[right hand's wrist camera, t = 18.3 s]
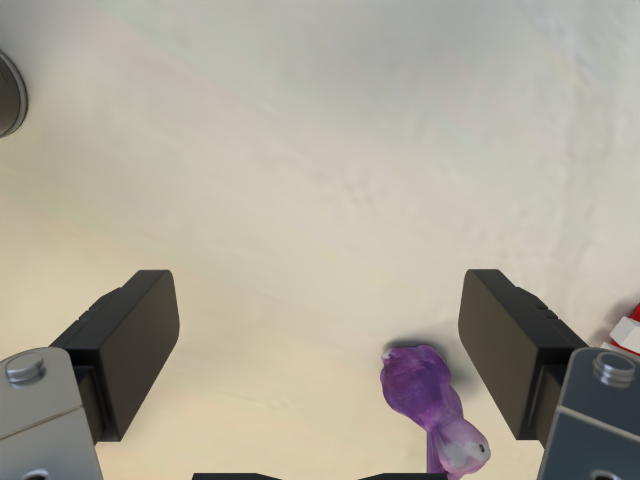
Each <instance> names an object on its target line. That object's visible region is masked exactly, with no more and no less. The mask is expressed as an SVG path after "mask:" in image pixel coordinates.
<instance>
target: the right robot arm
mask: <svg viewBox="0 0 640 480" xmlns="http://www.w3.org/2000/svg"><path fill="white" fill-rule="evenodd" d="M26 107H27V97H26V91H25V87H24V84H23V81H22V79H21V76H20V74H19V73H18V71H17V69H16V68H15V66H14V65H13V63H12V62H11V61H10V60H9V59H8V57H7V56H6V55H5V54H4V53H2V52H1V51H0V138H2V137H5V136H8V135H9V134H11V133H13V132H14V131H15V130H16V129H17V128H18V127H19V126H20V124H21V123H22V121H23V119H24V116H25V113H26ZM179 328H180V322H179V314H178V307H177V300H176V293H175V287H174V280H173V276H172V273H171V272H170V271H169V270H139V271H138V272H137V273H136V274H135V275H134V276H133V277H132V278H131V279H130V280H129V281H128V282H127V283H126V284H125V285H124V286H123V287H121V288H117V289H115V290H113V291H111V292H109V293H107V294H106V295H104V296H102V297H100V298H99V299H98V300H97V301H96V302H95V303H94V304H93V305H92V306H91V307H90V308H89V311H85V312H84V313H83V314H82V315H81V316H80V317H79V320H76V321H75V322H74V323H73V324H72V325H71V326H70V327H69V328H67V329H66V330H65V331H64V332H63V333H62V334H61V335H60V336H59V337H58V338H57V339H56V340H55V341H54V342H53V343H52V344H51V345H49V346H48V347H42V348H35V349H31V350H27V351H23V352H21V353H18V354H15V355H13V356H10V357H8V358H6V359H4V360H2V361H1V362H0V480H103V476H102V472H101V469H100V465H99V461H98V458H97V454H96V450H95V445H96V443H97V442H120V441H121V440H122V438H123V436H124V434H125V433H126V431H127V429H128V427H129V426H130V424H131V422H132V420H133V419H134V417H135V415H136V413H137V412H138V410H139V408H140V406H141V404H142V403H143V401H144V399H145V397H146V396H147V394H148V392H149V390H150V389H151V387H152V385H153V383H154V382H155V380H156V378H157V376H158V375H159V373H160V371H161V369H162V367H163V366H164V364H165V362H166V360H167V359H168V357H169V355H170V353H171V352H172V350H173V348H174V346H175V345H176V342H177V340H178V336H179ZM458 329H459V336H460V339H461V342H462V344H463V346H464V348H465V349H466V351H467V353H468V355H469V357H470V358H471V360H472V362H473V364H474V366H475V367H476V369H477V371H478V373H479V374H480V376H481V378H482V380H483V382H484V383H485V385H486V387H487V389H488V391H489V392H490V394H491V396H492V398H493V399H494V401H495V403H496V405H497V407H498V408H499V410H500V412H501V414H502V415H503V417H504V419H505V421H506V423H507V424H508V426H509V428H510V430H511V432H512V433H513V435H514V437H515V439H516V440H539V441H540V443H541V444H542V446H543V448H544V449H545V450H544V454H543V458H542V461H541V465H540V469H539V472H538V476H537V480H640V362H639V361H638V360H636V359H634V358H632V357H630V356H627V355H625V354H622V353H619V352H617V351H613V350H609V349H605V348H598V347H589V346H588V345H587V344H586V343H585V342H584V341H583V340H582V339H581V338H580V337H579V336H578V335H577V334H575V333H574V332H573V331H572V330H571V329H570V328H569V327H568V326H567V325H566V324H565V323H564V322H563V321H562V320H561V319H558V316H557V315H556V314H555V313H553V312H552V311H551V310H548V307H547V306H546V305H545V304H544V303H543V302H542V301H541V300H540V299H539V298H538V297H537V296H535V295H533V294H531V293H529V292H527V291H526V290H524V289H522V288H520V287H515V286H514V285H513V284H512V283H511V282H510V281H509V280H508V279H507V277H506V276H505V275H504V274H503V273H502V272H501V271H499V270H498V269H469V270H468V271H467V272H466V274H465V278H464V284H463V291H462V299H461V306H460V313H459V320H458ZM192 480H281V479H277V478H273V477H269V476H265V475H261V474H257V473H194V475H193V478H192ZM359 480H448V478H447V475H446V473H383V474H379V475H375V476H371V477H367V478H363V479H359Z"/></svg>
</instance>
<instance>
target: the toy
mask: <svg viewBox="0 0 640 480" xmlns="http://www.w3.org/2000/svg"><path fill="white" fill-rule="evenodd" d="M610 336H611V337H612V338H613V339H614V340H613V341H612V343H611V344H608V343H606V342H604V343H603V344H602V345H601V347H600V348H605V349H609V350H613V351H617V352H619V353H622V354H625V355H627V356H630V357H632V358H634V359H636V360H638V361H639V362H640V304H639V305H638V307H637V308H636V310H635V311H634V312H633V314H632V315H631V316H630V318H628V317H625V316H623V318H622V319H621V320H620V322H619V323H618V324H617V325H616V327H615V328H614V329H613V331H612V332H611V333H610Z"/></svg>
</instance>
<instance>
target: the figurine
mask: <svg viewBox="0 0 640 480" xmlns="http://www.w3.org/2000/svg"><path fill="white" fill-rule="evenodd" d="M381 358H382V361H383V363H384V366H385V368H384V370H383V371H382V373H381V375H380V380H381V383H382V388H383V395H384V397H385V400H386V402H387V403H388V405H389V406H390V407H391V408H392V409H393V410H395V411H396V412H398V413H400V414H403V415H405V416H407V417H409V418H410V419H412V420H413V421H414V422H415V423H417V424H418V425H419V426H420V427H422V428H423V429H424V430H425V431H427V473H446V475H447V478H448V480H459V479H460V478H461V477H462V476H464V475H465V474H472V473H476V472H477V471H478V470H479V469H481V468H482V467H483V466H484V465H485V463H486V462H487V461H488V460H489V459H490V456H491V452H490V449H489V445H488V442H487V439H486V438H485V436H484V435H483V434H482V433H481V432H479V431H478V430H477V429H476V428H475V427H474V426H473V425H472V424H471V423H470V422H468V421H467V420H465V419H464V417H463V409H462V404H461V400H460V398H459V396H458V394H457V392H456V391H455V390H454V389H453V388H452V387H451V386H450V385H449V383H450V380H451V374H450V371H449V369H448V365H447V363H446V362H445V360H444V359H443V357H442V356H441V355H440V354H439V352H437V350H436V349H435V348H433V347H432V346H430V345H427V344H425V345H419V346H414V347H402V348H391V349H389V350H387V351H385V352H384V353H383V354H382V356H381Z"/></svg>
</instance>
